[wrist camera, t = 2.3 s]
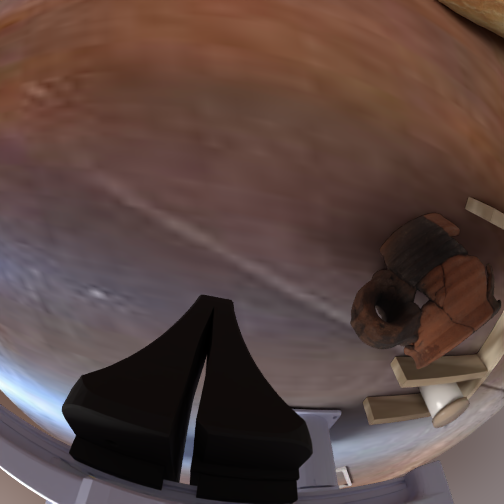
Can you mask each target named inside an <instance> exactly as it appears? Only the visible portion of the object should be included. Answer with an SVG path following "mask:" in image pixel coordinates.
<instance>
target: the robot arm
mask: <svg viewBox="0 0 504 504" xmlns="http://www.w3.org/2000/svg"><path fill="white" fill-rule="evenodd" d="M206 356H207V363H206V376H205V381H204V385H203V390H202V395H201V400H200V404H199V409H198V414H197V418H196V427H195V438H194V449H193V457H192V463H191V469H190V472H191V474H190V485H188V484H183V483H179V481H180V474H181V467H182V460H183V454H184V448H185V442H186V436H187V430H188V425H189V419H190V414H191V408H192V403H193V399H194V395H195V392H196V389H197V385H198V382H199V379H200V376H201V372H202V369H203V366H204V363H205V359H206ZM62 413H63V415H64V417H65V419H66V421H67V422H68V424H69V425H70V427H71V429H72V430H73V431H74V433H75V434H76V437H75V439H74V441H73V444H72V446H69V445H67V444H65V443H63V442H61V441H59V440H57V439H55V438H53V437H51V436H50V435H48V434H46V433H44V432H42V431H41V430H39V429H37V428H36V427H34V426H32V425H31V424H29V423H27V422H26V421H24V420H22V419H21V418H19V417H18V416H16V415H15V414H14V413H12V412H11V411H9V410H8V409H6V408H5V407H4V406H2V405H1V404H0V468H1V469H2V470H4V471H5V472H6V473H8V474H9V475H10V476H11V477H13V478H14V479H16V480H17V481H19V482H20V483H21V484H23V485H24V486H26V487H27V488H29V489H30V490H32V491H33V492H35V493H36V494H38V495H40V496H41V497H43V498H45V499H46V503H45V504H454V503H453V499H452V496H451V493H450V489H449V486H448V483H447V480H446V477H445V474H444V471H443V468H442V465H441V462H440V461H439V460H437V461H434V462H432V463H428V464H425V465H422V466H419V467H417V468H415V469H413V470H411V471H410V472H408V473H407V474H406V475H405V476H403V477H399V478H395V479H391V480H387V481H383V482H378V483H373V484H368V485H363V486H357V487H351V488H344V489H339V486H338V482H337V475H336V469H335V463H334V457H333V451H332V445H331V439H330V434H329V429H330V428H331V427H332V426H333V424H334V423H335V422H336V421H337V419H338V418H339V417H340V416H341V414H342V413H341V411H340V410H307V409H291V408H290V407H289V406H288V405H287V404H286V403H285V402H284V401H283V400H282V398H281V397H280V396H279V395H278V394H277V393H276V392H275V390H274V389H273V388H272V387H271V385H270V384H269V383H268V381H267V380H266V379H265V378H264V376H263V375H262V373H261V372H260V370H259V369H258V367H257V365H256V364H255V362H254V360H253V358H252V357H251V355H250V353H249V351H248V349H247V347H246V344H245V342H244V340H243V337H242V335H241V332H240V329H239V326H238V323H237V320H236V316H235V312H234V305H233V302H232V300H229V299H223V298H218V297H213V296H207V295H200V296H199V297H198V299H197V300H196V301H195V303H194V304H193V305H192V306H191V308H190V309H189V310H188V311H187V312H186V313H185V314H184V315H183V316H182V317H181V318H180V319H179V320H178V321H177V322H176V323H175V324H174V325H173V326H172V327H171V328H170V329H168V330H167V331H166V332H165V333H164V334H163V335H161V336H160V337H159V338H158V339H156V340H155V341H153V342H152V343H151V344H149V345H148V346H146V347H145V348H143V349H141V350H140V351H138V352H137V353H135V354H133V355H131V356H130V357H128V358H126V359H124V360H121V361H119V362H117V363H115V364H113V365H111V366H108V367H106V368H103V369H100V370H97V371H94V372H91V373H88V374H85V375H82V376H81V377H80V378H79V380H78V381H77V382H76V384H75V385H74V386H73V388H72V389H71V391H70V393H69V395H68V397H67V399H66V400H65V402H64V404H63V406H62ZM91 476H92V477H94V478H92V477H91Z"/></svg>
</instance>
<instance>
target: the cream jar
mask: <svg viewBox="0 0 504 504" xmlns="http://www.w3.org/2000/svg"><path fill="white" fill-rule="evenodd" d="M418 388H419V390H420V392H421V395H422V397H423V399H424V401H425V403H426V405H427V407H428V410H429V412H430V414H431V416H432V423H433V426H434V427H435V428H439V427H442V426H445V425H447V424H449V423H450V422H452V421H454V420H455V419H456V418H458V417H459V416H460V415H461V414H462V413H463V412H464V411H465V410H466V409H467V408H468V406H469V401H468V399H467V397H464V396H463V394H462V392H461V390H460V389H459V387H458V385H457V383H456V382H453V383H446V384H438V385H429V386H419V387H418Z"/></svg>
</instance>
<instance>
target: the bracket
mask: <svg viewBox="0 0 504 504" xmlns="http://www.w3.org/2000/svg"><path fill="white" fill-rule="evenodd" d="M465 209H466V210H468V211H470V212H472V213H474V214H475V215H477V216H479V217H481V218H483V219H485V220H487V221H488V222H490V223H492V224H494V225H496V226H498V227H500V228H502V229H503V230H504V214H503V213H501V212H500V211H498V210H496V209H495V208H492V207H490V206H488V205H486V204H484V203H482V202H480V201H477V200H475V199H473V198H471V197H468V201H467V204H466V207H465ZM503 354H504V311H503V313H502V315H501V316H500V318H499V320H498V322H497V323H496V325H495V327H494V328H493V330H492V332H491V333H490V335H489V337H488V338H487V340H486V341H485V343H484V344H483V346H482V347H481V349H480V350H479V352H478V353H477V354H475V355H460V356H442V357H440V358H439V359H437V360H436V361H434V362H432V363H431V364H429V365H428V366H426V367H423V368H420V369H417V368H416V363H415V361H414V359H413V357H395V358H394V360H393V361H392V363H391V364H390V365H391V367H392V369H393V371H394V373H395V375H396V378H397V380H398V382H399V384H400V387H401V388H406V387H419V386H429V385H438V384H446V383H453V382H456V383H457V385H458V387H459V389H460V390H461V392H462V394H463V396H464V397H467V399H469V398H470V397H471V396H472V395H473V393H474V392H475V391H476V390H477V389H478V387H479V386H480V385H481V384H482V383H483V381H484V380H485V379H486V378H487V376H488V375H489V374H490V372H491V371H492V370H493V368H494V367H495V366H496V364H497V363H498V362H499V360H500V359H501V357H502V356H503ZM363 405H364V408H365V412H366V415H367V419H368V422H369V425H373V424H383V423H391V422H399V421H406V420H412V419H418V418H423V417H429V416H431V414H430V412H429V410H428V407H427V405H426V403H425V401H424V399H423V397H422V395H421V393H418V394H409V395H396V396H380V397H367V398H366V399H365V400H364V402H363Z"/></svg>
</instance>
